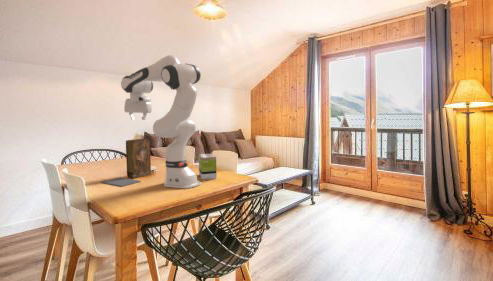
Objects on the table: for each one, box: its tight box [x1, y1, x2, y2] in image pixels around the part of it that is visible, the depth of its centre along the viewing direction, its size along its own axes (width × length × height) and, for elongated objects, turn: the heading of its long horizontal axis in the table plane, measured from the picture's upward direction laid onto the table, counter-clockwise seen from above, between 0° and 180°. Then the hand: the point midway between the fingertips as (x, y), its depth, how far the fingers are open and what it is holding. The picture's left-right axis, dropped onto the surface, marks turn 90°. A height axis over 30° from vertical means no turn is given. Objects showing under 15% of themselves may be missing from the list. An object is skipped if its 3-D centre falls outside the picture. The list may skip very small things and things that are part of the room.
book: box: [125, 138, 152, 179], centre depth 175 cm, size 16×6×25 cm, turn 154°
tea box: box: [198, 153, 217, 181], centre depth 173 cm, size 15×10×15 cm, turn 17°
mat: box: [100, 176, 141, 188], centre depth 159 cm, size 20×13×1 cm, turn 62°
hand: (138, 119), depth 172 cm, fingers open, 8 cm apart
